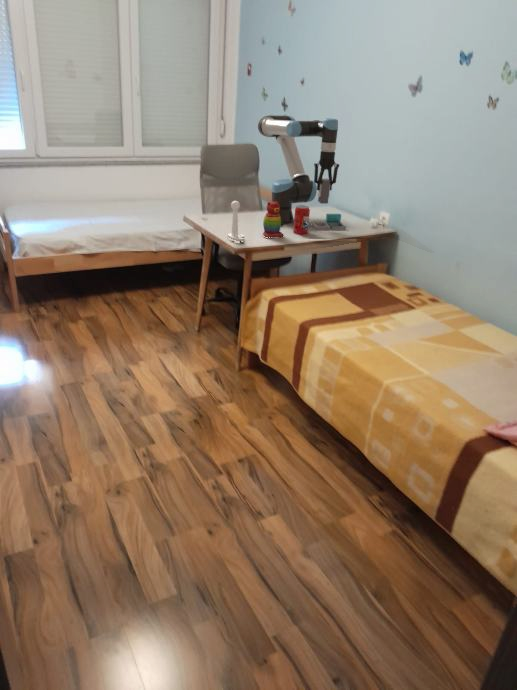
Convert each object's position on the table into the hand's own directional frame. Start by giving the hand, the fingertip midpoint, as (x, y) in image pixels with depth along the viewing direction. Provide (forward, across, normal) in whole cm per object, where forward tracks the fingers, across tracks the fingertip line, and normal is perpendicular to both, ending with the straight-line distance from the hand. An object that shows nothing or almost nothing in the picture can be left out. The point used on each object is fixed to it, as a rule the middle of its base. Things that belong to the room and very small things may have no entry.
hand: (323, 196), depth 283 cm
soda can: (+19, -14, -9) cm, 25 cm away
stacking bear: (+19, -30, -11) cm, 37 cm away
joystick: (+19, -49, -19) cm, 56 cm away
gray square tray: (+18, +4, 0) cm, 19 cm away
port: (+17, +9, +2) cm, 20 cm away
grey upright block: (+3, 0, 0) cm, 3 cm away
